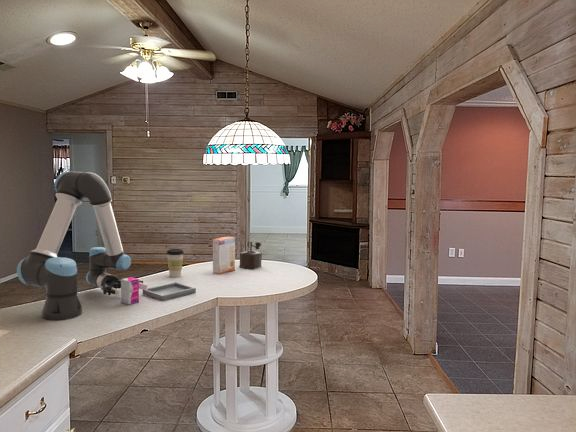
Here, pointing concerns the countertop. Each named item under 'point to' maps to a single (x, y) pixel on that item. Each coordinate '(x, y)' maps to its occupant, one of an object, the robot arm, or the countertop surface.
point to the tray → (169, 291)
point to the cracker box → (223, 255)
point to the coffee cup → (175, 262)
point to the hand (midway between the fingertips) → (133, 290)
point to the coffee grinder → (251, 257)
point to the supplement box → (129, 291)
